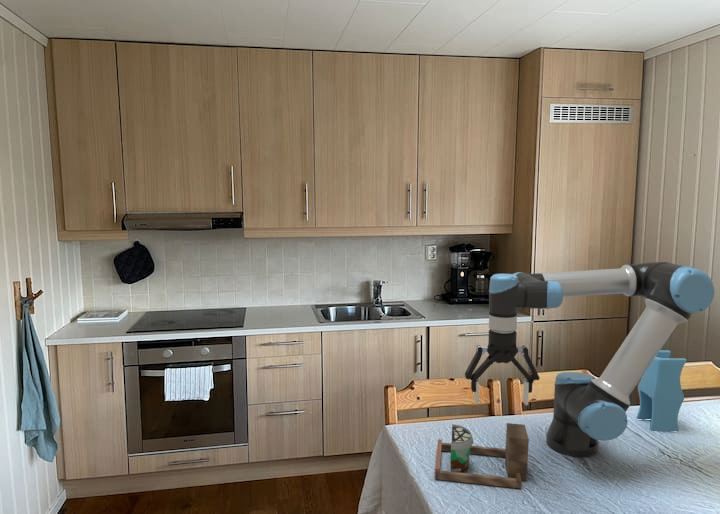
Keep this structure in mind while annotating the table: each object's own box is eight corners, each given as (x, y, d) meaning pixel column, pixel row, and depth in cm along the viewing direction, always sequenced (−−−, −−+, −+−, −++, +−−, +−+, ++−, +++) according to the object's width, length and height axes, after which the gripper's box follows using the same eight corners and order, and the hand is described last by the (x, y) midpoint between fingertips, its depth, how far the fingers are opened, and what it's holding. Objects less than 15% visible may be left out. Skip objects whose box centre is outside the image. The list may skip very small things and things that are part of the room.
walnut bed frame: (521, 456, 153) (522, 418, 151) (528, 489, 136) (530, 446, 134) (437, 448, 158) (438, 411, 156) (434, 478, 141) (436, 437, 139)
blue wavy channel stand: (680, 432, 170) (687, 359, 167) (651, 431, 170) (656, 359, 167) (663, 419, 180) (669, 350, 177) (635, 418, 180) (640, 350, 177)
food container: (472, 479, 141) (473, 445, 140) (450, 476, 142) (451, 442, 141) (472, 457, 153) (473, 425, 152) (451, 454, 154) (452, 423, 153)
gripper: (544, 326, 145) (542, 398, 147) (455, 326, 147) (455, 396, 149) (552, 333, 137) (550, 409, 140) (458, 333, 139) (458, 407, 142)
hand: (501, 403), depth 145 cm, fingers open, 13 cm apart
